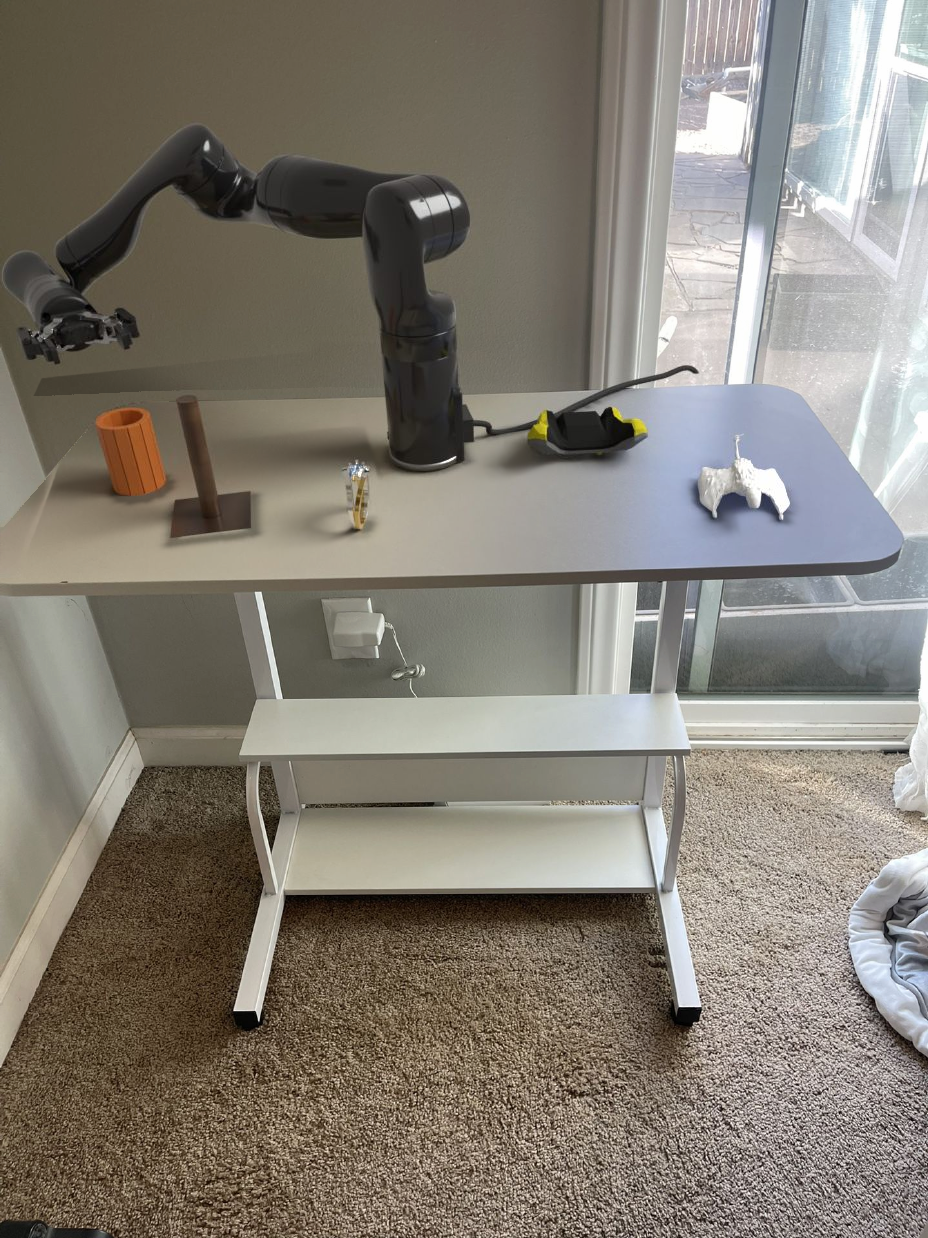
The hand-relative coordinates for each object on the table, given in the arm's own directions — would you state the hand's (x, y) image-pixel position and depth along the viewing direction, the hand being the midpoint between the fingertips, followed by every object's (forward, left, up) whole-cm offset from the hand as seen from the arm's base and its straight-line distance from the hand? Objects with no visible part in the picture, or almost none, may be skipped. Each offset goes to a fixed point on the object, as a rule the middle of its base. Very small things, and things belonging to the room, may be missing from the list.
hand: (91, 348), depth 114 cm
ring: (-30, +26, -15) cm, 42 cm away
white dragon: (-75, +29, -15) cm, 81 cm away
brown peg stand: (-13, +20, -15) cm, 28 cm away
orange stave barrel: (-4, +10, -15) cm, 18 cm away
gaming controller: (-60, +14, -15) cm, 63 cm away
